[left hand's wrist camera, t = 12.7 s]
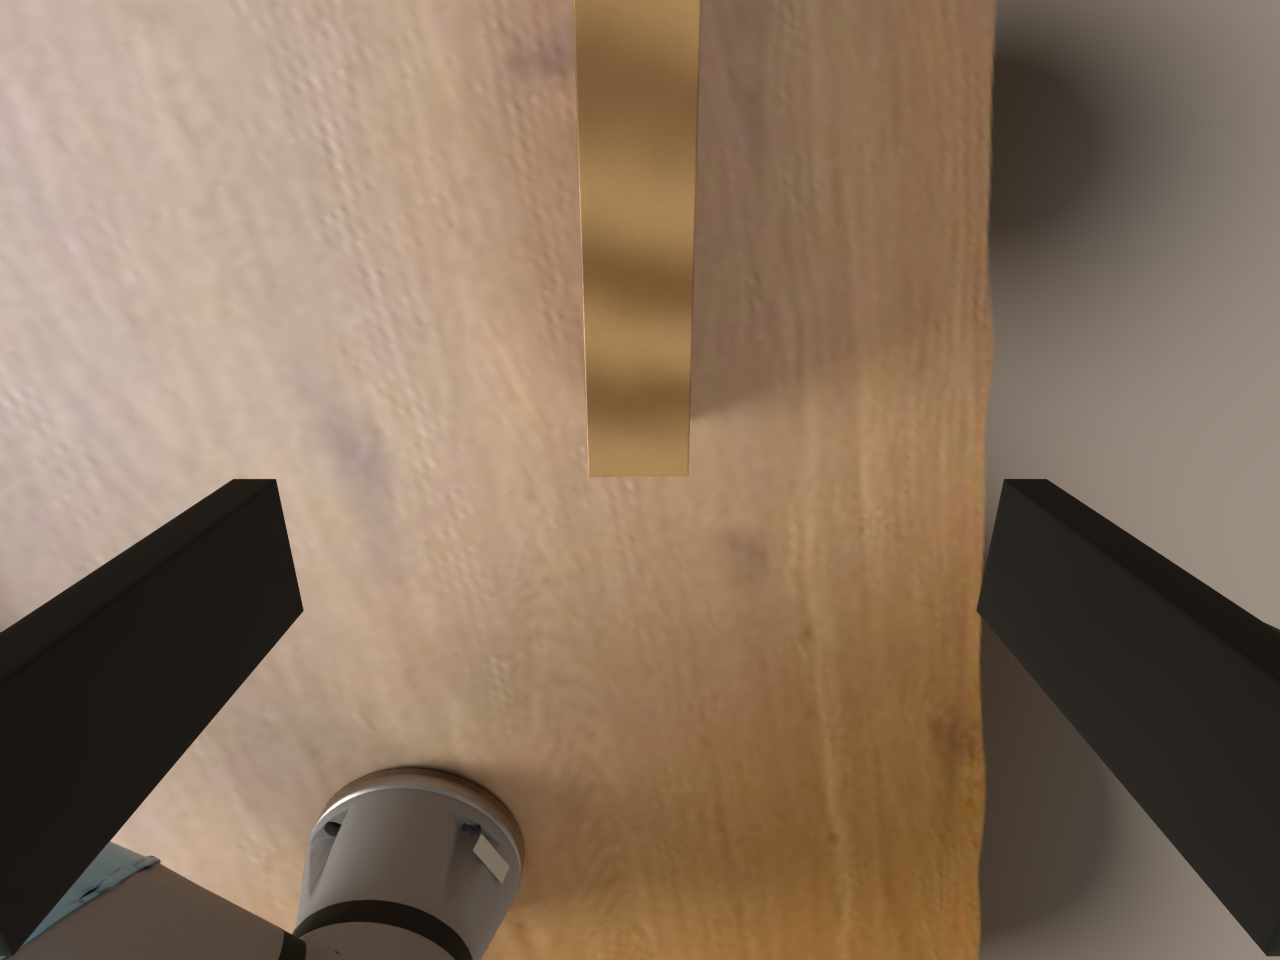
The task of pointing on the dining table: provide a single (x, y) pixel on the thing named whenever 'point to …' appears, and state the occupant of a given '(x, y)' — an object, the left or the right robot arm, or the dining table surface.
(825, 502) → the dining table surface
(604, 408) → the plank
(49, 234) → the dining table surface
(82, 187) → the dining table surface
